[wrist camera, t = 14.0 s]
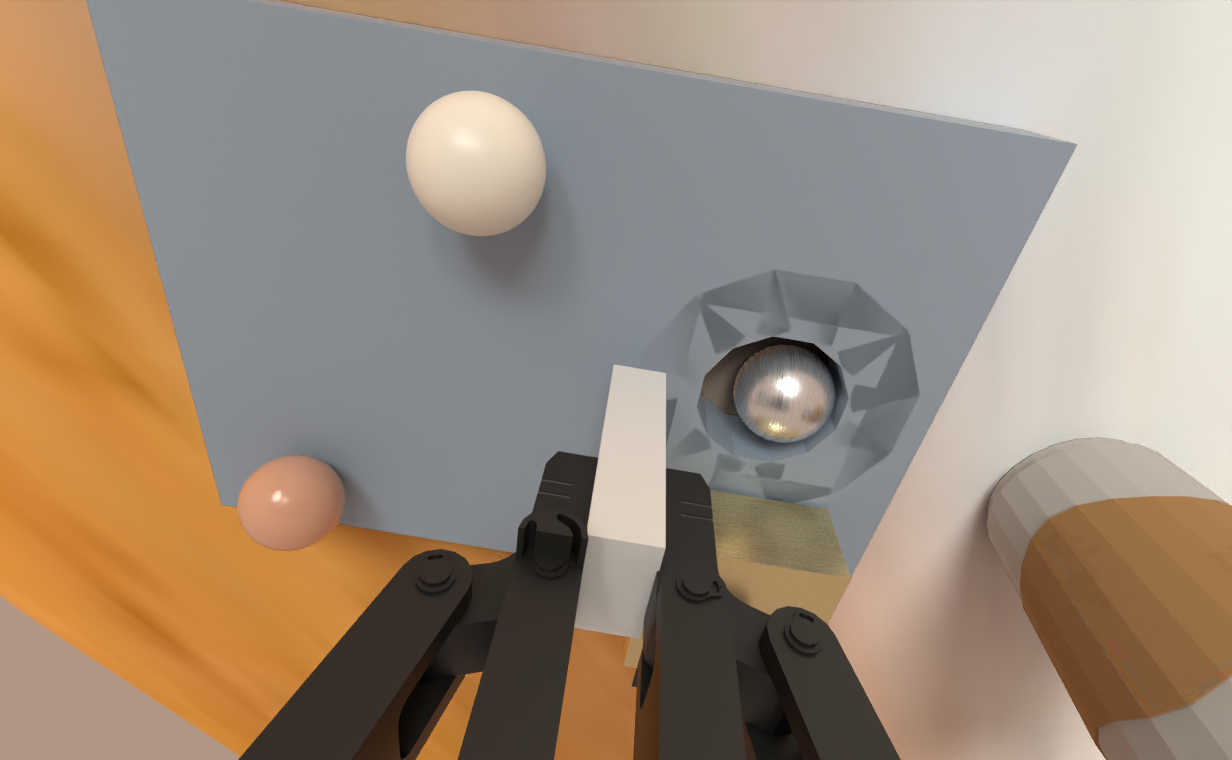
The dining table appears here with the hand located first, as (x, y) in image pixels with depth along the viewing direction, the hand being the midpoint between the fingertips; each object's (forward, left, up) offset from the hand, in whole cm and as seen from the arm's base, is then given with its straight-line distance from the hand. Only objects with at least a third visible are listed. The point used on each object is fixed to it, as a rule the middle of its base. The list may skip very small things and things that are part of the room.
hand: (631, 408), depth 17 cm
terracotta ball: (+6, -11, 0) cm, 12 cm away
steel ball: (0, +5, -2) cm, 5 cm away
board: (0, -3, -4) cm, 5 cm away
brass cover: (+7, +4, -1) cm, 8 cm away
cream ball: (-6, -5, 0) cm, 8 cm away
